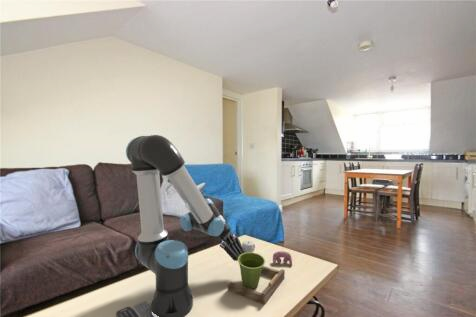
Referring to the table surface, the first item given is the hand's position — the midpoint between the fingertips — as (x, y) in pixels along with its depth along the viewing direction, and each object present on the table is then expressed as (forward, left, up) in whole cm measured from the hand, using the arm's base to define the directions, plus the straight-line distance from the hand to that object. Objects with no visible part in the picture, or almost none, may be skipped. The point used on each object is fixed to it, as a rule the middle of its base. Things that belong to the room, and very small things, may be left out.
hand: (249, 270), depth 105 cm
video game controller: (+22, -8, -4) cm, 23 cm away
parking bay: (-2, -5, -4) cm, 6 cm away
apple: (+23, +13, -4) cm, 27 cm away
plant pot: (-4, -2, -4) cm, 6 cm away
